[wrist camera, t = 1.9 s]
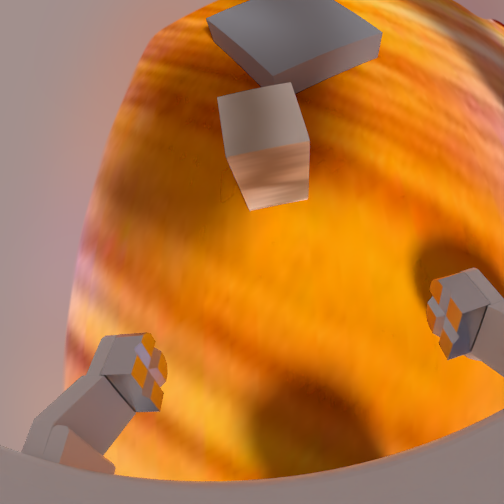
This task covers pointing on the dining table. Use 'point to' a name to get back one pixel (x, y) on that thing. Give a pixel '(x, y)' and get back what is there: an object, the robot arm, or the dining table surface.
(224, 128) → the grey upright block
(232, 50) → the grey plinth
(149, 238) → the dining table surface
